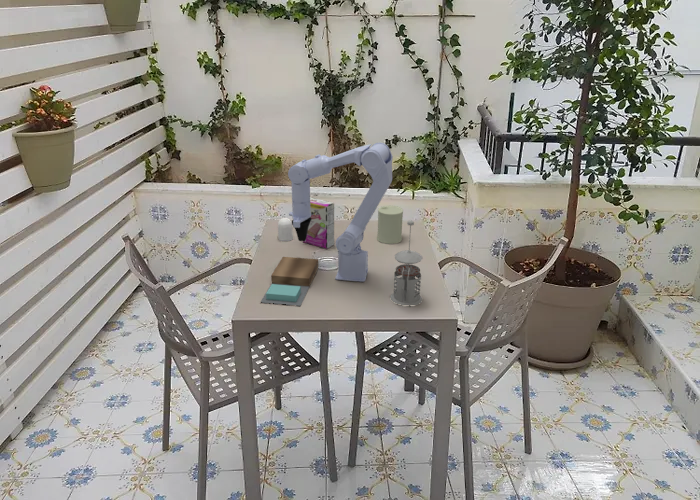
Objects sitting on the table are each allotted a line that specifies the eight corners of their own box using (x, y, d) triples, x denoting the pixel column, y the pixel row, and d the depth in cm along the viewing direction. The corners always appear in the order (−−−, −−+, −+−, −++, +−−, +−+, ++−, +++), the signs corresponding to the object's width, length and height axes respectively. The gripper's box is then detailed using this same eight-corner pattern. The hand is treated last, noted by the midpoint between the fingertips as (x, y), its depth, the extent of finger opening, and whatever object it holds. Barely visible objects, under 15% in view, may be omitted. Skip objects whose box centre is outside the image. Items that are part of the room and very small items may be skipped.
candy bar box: (301, 242, 207) (300, 200, 200) (309, 238, 211) (308, 196, 204) (327, 249, 201) (326, 206, 195) (335, 245, 205) (334, 202, 199)
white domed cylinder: (295, 236, 212) (294, 216, 209) (288, 242, 207) (287, 221, 204) (282, 234, 214) (281, 214, 210) (275, 239, 209) (274, 219, 206)
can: (385, 232, 217) (386, 202, 212) (406, 238, 212) (408, 207, 207) (372, 240, 210) (372, 209, 205) (393, 246, 205) (394, 214, 200)
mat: (309, 287, 176) (309, 286, 176) (300, 306, 165) (300, 305, 165) (271, 284, 177) (271, 283, 177) (260, 302, 167) (260, 302, 166)
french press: (424, 292, 173) (430, 215, 163) (420, 311, 163) (425, 230, 153) (392, 289, 175) (396, 212, 165) (386, 307, 165) (389, 227, 155)
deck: (318, 267, 188) (318, 259, 187) (309, 287, 176) (309, 278, 175) (283, 264, 190) (282, 256, 189) (271, 284, 177) (271, 275, 176)
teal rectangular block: (295, 296, 166) (296, 302, 167) (300, 286, 171) (300, 292, 172) (266, 293, 167) (266, 299, 168) (271, 284, 173) (272, 289, 173)
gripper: (294, 192, 186) (295, 230, 191) (282, 207, 172) (284, 248, 178) (315, 193, 185) (316, 232, 190) (305, 208, 172) (306, 249, 177)
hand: (302, 240), depth 184 cm, fingers closed
